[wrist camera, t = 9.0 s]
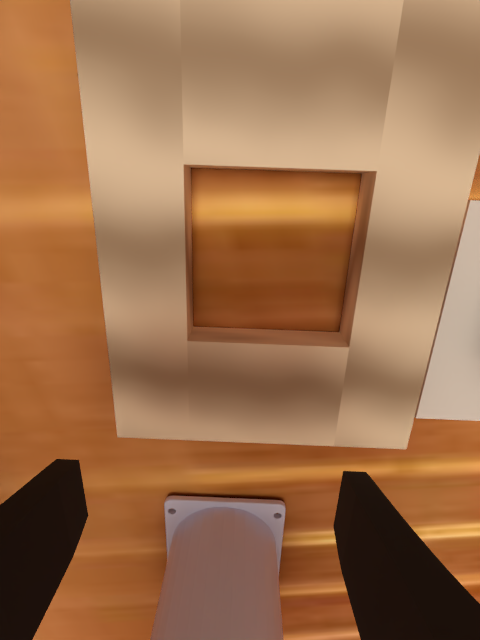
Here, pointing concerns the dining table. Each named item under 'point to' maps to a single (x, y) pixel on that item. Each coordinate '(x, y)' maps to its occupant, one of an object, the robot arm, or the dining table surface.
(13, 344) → the dining table surface
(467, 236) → the felt pad
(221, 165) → the pocket board
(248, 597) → the robot arm
